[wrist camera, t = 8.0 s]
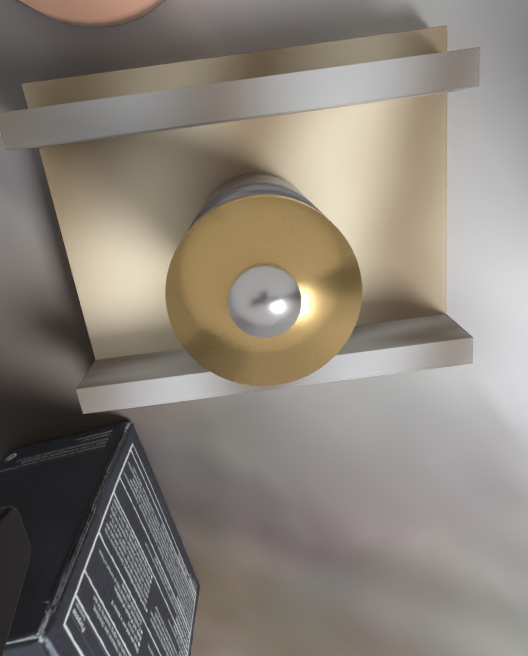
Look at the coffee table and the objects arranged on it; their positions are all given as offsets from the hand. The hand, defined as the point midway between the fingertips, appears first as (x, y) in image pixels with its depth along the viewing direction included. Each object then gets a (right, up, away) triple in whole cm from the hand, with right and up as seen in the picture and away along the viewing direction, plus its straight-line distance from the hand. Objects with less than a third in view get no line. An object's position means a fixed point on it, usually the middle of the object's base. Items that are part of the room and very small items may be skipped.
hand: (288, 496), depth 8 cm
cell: (-1, +6, +10) cm, 12 cm away
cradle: (-1, +7, +11) cm, 13 cm away
